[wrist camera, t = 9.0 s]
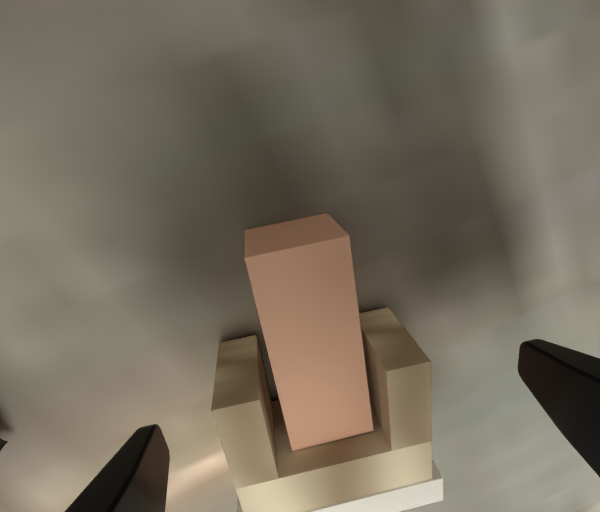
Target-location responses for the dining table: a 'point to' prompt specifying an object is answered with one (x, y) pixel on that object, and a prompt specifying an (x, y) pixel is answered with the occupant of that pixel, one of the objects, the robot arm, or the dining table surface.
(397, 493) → the backstop
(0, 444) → the statue
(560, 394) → the robot arm
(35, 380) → the dining table surface
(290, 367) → the peg
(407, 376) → the block
